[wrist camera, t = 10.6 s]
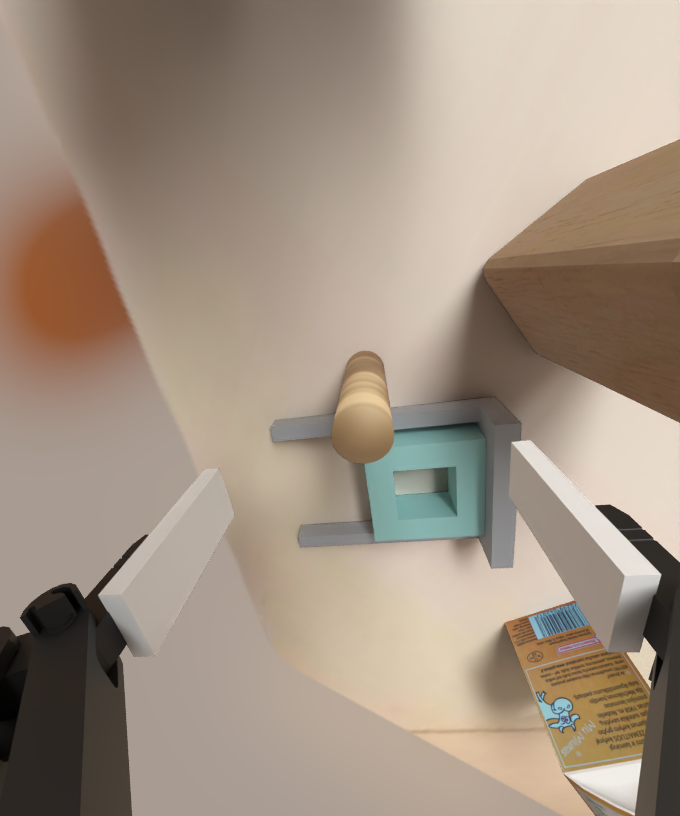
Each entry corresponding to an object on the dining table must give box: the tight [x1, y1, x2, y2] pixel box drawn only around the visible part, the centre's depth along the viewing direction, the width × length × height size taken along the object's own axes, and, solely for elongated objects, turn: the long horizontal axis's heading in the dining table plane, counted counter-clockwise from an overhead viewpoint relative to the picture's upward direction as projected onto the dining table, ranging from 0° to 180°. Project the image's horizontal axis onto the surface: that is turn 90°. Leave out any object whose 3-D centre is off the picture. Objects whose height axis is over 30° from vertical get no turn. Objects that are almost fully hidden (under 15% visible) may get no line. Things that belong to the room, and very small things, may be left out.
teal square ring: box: [364, 422, 486, 541], centre depth 33 cm, size 11×11×4 cm
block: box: [483, 140, 680, 423], centre depth 18 cm, size 10×10×20 cm
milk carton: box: [505, 601, 651, 816], centre depth 34 cm, size 11×11×19 cm
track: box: [270, 397, 521, 569], centre depth 33 cm, size 16×22×6 cm
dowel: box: [331, 351, 394, 464], centre depth 25 cm, size 4×4×14 cm
